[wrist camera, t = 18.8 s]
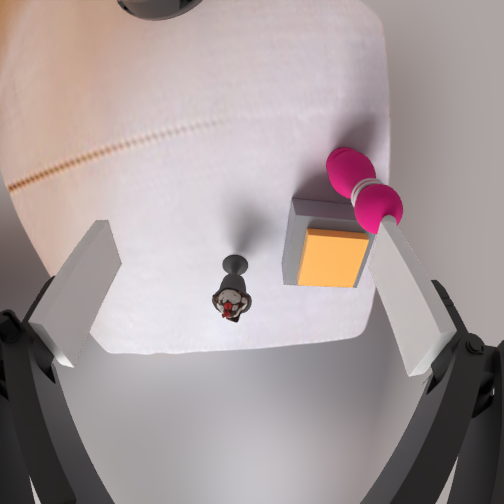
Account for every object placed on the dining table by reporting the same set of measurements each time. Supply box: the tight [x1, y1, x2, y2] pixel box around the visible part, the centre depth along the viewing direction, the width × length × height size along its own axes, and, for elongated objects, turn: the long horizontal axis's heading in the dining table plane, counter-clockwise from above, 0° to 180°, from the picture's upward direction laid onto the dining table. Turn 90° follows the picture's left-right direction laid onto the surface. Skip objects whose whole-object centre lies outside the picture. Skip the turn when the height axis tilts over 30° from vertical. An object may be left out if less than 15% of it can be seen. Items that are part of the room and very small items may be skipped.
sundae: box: [212, 255, 252, 323], centre depth 51 cm, size 7×7×15 cm
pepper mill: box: [326, 147, 403, 234], centre depth 36 cm, size 7×7×20 cm
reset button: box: [297, 228, 369, 287], centre depth 49 cm, size 10×10×7 cm
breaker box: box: [282, 198, 375, 288], centre depth 50 cm, size 14×14×6 cm
